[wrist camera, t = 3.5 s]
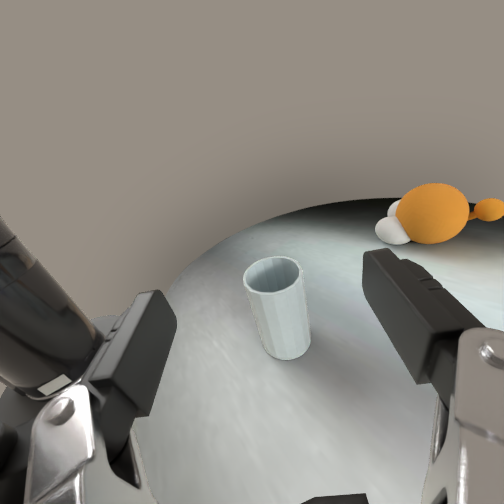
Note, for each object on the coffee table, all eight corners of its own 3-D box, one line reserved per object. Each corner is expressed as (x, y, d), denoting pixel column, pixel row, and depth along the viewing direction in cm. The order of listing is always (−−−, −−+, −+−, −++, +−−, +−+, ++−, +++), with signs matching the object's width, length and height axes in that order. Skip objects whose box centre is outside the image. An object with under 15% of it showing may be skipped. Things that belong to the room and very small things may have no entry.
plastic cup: (267, 366, 26) (246, 301, 20) (258, 325, 31) (240, 264, 25) (318, 352, 26) (311, 284, 21) (301, 313, 31) (292, 250, 25)
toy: (470, 235, 40) (376, 211, 44) (518, 185, 32) (399, 163, 37) (477, 277, 34) (369, 245, 39) (537, 228, 27) (394, 196, 31)
